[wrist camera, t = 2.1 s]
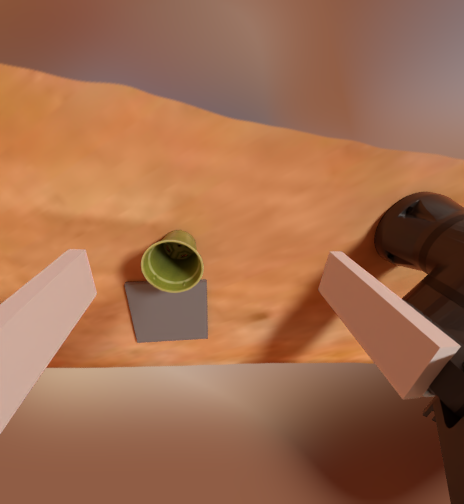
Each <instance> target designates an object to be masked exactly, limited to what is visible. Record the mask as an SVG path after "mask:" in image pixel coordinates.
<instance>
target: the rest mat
mask: <svg viewBox="0 0 464 504" xmlns="http://www.w3.org/2000/svg"><path fill="white" fill-rule="evenodd" d="M125 290H126V294H127V299H128V303H129V307H130V312H131V316H132V321H133V325H134V329H135V334H136V338H137V343H142V342H158V341H175V340H191V339H208V325H207V280H200V281H199V282H198V283H197V284H196V285H195V286H194V287H193V288H191V289H189V290H187V291H184V292H180V293H170V292H165V291H162V290H159V289H157V288H155V287H154V286H153V285H151V284H150V283H149V282H148V281H145V282H126V283H125Z"/></svg>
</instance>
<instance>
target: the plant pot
mask: <svg viewBox="0 0 464 504" xmlns="http://www.w3.org/2000/svg"><path fill="white" fill-rule="evenodd" d="M166 245H167V246H168V248H169V250H170V252H169V251H168V250H167V248H166ZM178 245H181V247H178ZM186 254H187V256H185V257H181V256H182V255H186ZM141 269H142V273H143V275H144V277H145V278H146V280H147V281H148V282H149V283H150V284H151V285H153V286H154V287H155V288H157V289H159V290H162V291H165V292H170V293H180V292H184V291H187V290H189V289H191V288H193V287H194V286H195V285H196V284H197V283H198V282H199V281H200V279H201V277H202V275H203V270H204V267H203V261H202V258H201V256H200V255H199V253H198V252H197V249H196V243H195V240H194V238H193V237H192V236H191V235H190V234H188V233H187V232H184V231H182V230H175V231H172V232H170V233H168V234H167V235H166V236H165V237H164V238H163V239H162V240H161V241H159V242H156V243H154V244H153V245H151V246H150V247H149V248H148V249H147V250H146V251H145V252H144V254H143V256H142V259H141Z"/></svg>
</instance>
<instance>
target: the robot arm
mask: <svg viewBox="0 0 464 504" xmlns="http://www.w3.org/2000/svg"><path fill="white" fill-rule="evenodd" d="M375 247H376V250H377V252H378V253H379V255H380V256H381V257H383V258H384V259H386V260H387V261H389V262H391V263H393V264H395V265H399V266H403V267H407V268H412V269H416V270H420V271H423V272H425V273H427V274H428V275H427V276H426V277H425V278H424V279H423V280H422V281H420V282H419V283H418V284H417V285H416V286H415V287H414V288H413V289H412V290H411V291H410V292H408V293H407V294H406V295H405V296H404V297H403V298H402V299H401V298H400V297H398V296H397V295H396V294H395V293H393V292H392V291H391V290H389V289H388V288H387V287H386V286H384V285H383V284H382V283H381V282H379V281H378V280H377V279H376V278H374V277H373V276H372V275H371V274H369V273H368V272H367V271H366V270H364V269H363V268H362V267H360V266H359V265H358V264H357V263H355V262H354V261H353V260H352V259H350V258H349V257H348V256H347V255H345V254H344V253H343V252H329V255H328V259H327V262H326V265H325V268H324V272H323V275H322V278H321V282H320V285H319V288H318V291H319V292H320V293H321V295H322V296H323V297H324V298H325V300H326V301H327V302H328V304H329V305H330V306H331V307H332V309H333V310H334V311H335V313H336V314H337V315H338V316H339V318H340V319H341V320H342V322H343V323H344V324H345V326H346V327H347V328H348V329H349V331H350V332H351V333H352V335H353V336H354V337H355V338H356V340H357V341H358V342H359V344H360V345H361V346H362V347H363V349H364V350H365V351H366V353H367V354H368V355H369V356H370V358H371V359H372V360H373V362H374V363H375V364H376V365H377V367H378V368H379V369H380V371H381V372H382V373H383V374H384V375H385V377H386V378H387V380H388V381H389V382H390V384H391V385H392V386H393V387H394V389H395V390H396V391H397V393H398V394H399V395H400V396H401V398H402V399H413V398H421V397H422V396H425V397H434V396H435V397H434V398H433V400H432V401H431V402H430V403H429V404H428V406H427V407H426V408H425V409H424V411H423V416H425V417H427V416H428V415H429V414H430V413H431V411H434V413H435V416H434V417H433V419H432V420H433V421H435V422H436V424H437V430H438V435H439V441H440V446H441V452H442V457H443V462H444V468H445V473H446V479H447V484H448V490H449V495H450V501H451V504H464V208H463V207H462V206H460V205H459V204H458V203H456V202H455V201H453V200H452V199H450V198H449V197H447V196H444V195H441V194H437V193H432V192H419V193H415V194H412V195H409V196H407V197H405V198H403V199H402V200H400V201H399V202H397V203H396V204H395V205H394V206H392V207H391V208H390V209H389V210H388V212H387V213H386V214H385V215H384V217H383V218H382V220H381V221H380V223H379V225H378V227H377V230H376V234H375ZM96 295H97V292H96V288H95V284H94V280H93V277H92V273H91V269H90V265H89V261H88V257H87V254H86V250H85V249H68V250H67V251H66V252H65V253H63V254H62V255H61V256H60V257H58V258H57V259H56V260H55V261H54V262H52V263H51V264H50V265H49V266H47V267H46V268H45V269H44V270H42V271H41V272H40V273H39V274H37V275H36V276H35V277H34V278H32V279H31V280H30V281H29V282H28V283H26V284H25V285H24V286H23V287H21V288H20V289H19V290H18V291H16V292H15V293H14V294H13V295H11V296H10V297H9V298H8V299H6V300H5V301H4V302H3V303H1V304H0V434H1V432H2V431H3V429H4V428H5V426H6V425H7V423H8V422H9V421H10V419H11V418H12V416H13V415H14V413H15V412H16V410H17V409H18V407H19V406H20V405H21V403H22V402H23V400H24V399H25V398H26V396H27V395H28V393H29V392H30V390H31V389H32V387H33V386H34V384H35V383H36V382H37V380H38V378H39V377H40V376H41V374H42V373H43V371H44V370H45V369H46V367H47V366H48V364H49V363H50V361H51V360H52V358H53V357H54V356H55V354H56V353H57V351H58V350H59V348H60V347H61V345H62V344H63V343H64V341H65V340H66V338H67V337H68V335H69V334H70V332H71V331H72V329H73V328H74V327H75V325H76V324H77V322H78V321H79V319H80V318H81V316H82V315H83V314H84V312H85V311H86V309H87V308H88V306H89V305H90V303H91V302H92V301H93V299H94V298H95V296H96Z"/></svg>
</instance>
